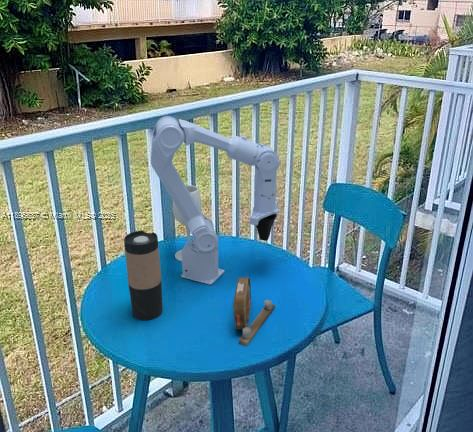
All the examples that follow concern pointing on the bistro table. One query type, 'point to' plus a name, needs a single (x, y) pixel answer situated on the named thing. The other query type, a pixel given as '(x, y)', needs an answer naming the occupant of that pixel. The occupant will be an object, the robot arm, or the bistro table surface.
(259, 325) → the wooden rack with knobs
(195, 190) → the wineglass
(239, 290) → the tin
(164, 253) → the bistro table surface
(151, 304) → the travel mug
